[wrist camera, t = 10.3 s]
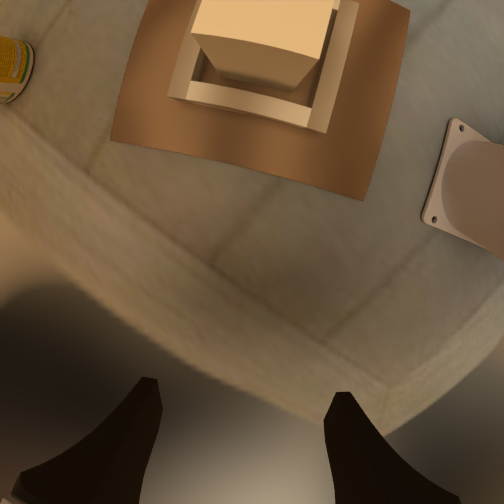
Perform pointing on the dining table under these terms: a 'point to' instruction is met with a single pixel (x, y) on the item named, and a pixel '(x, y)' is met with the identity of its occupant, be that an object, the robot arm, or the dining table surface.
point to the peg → (263, 38)
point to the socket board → (268, 98)
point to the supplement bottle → (14, 67)
